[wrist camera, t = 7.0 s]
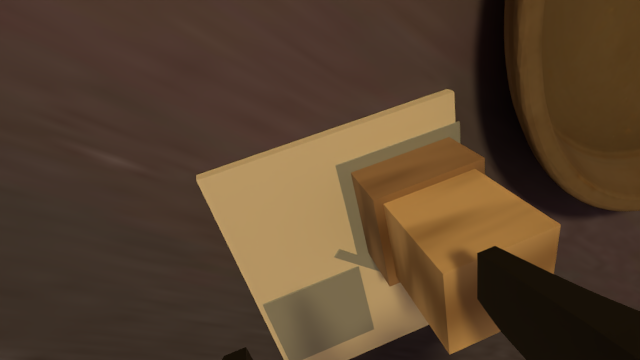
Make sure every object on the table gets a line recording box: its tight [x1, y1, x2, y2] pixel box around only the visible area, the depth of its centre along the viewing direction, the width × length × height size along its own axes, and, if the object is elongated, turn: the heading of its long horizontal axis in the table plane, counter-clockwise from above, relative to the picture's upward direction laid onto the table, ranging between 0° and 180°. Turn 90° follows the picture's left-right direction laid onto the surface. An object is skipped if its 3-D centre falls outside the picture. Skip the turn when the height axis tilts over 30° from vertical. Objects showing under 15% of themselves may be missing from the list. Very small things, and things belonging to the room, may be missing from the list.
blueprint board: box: [196, 89, 460, 360], centre depth 23 cm, size 18×14×1 cm
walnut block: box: [351, 137, 485, 286], centre depth 20 cm, size 6×6×3 cm
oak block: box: [383, 169, 561, 355], centre depth 17 cm, size 5×5×5 cm
